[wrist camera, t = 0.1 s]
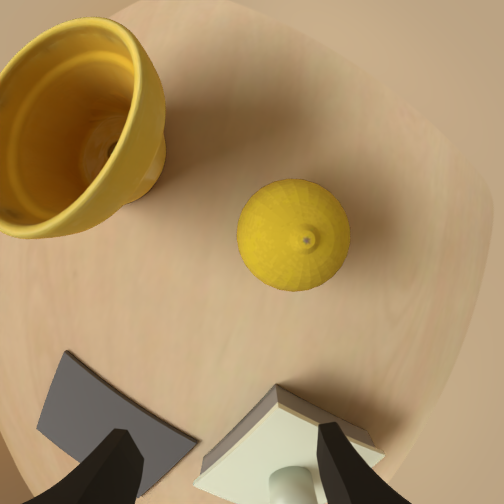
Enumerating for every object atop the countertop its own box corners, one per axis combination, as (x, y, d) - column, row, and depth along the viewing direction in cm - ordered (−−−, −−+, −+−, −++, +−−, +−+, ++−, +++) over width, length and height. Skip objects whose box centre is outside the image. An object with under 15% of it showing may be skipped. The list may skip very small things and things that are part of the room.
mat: (138, 495, 22) (138, 498, 21) (38, 426, 21) (36, 428, 21) (197, 440, 21) (196, 443, 20) (66, 349, 20) (63, 351, 20)
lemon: (223, 243, 19) (203, 260, 11) (271, 171, 19) (286, 137, 11) (294, 291, 19) (322, 336, 11) (342, 220, 19) (399, 221, 11)
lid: (295, 511, 19) (301, 548, 15) (195, 474, 19) (186, 516, 14) (380, 444, 19) (400, 483, 14) (276, 395, 18) (282, 442, 13)
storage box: (293, 493, 22) (296, 514, 19) (203, 457, 21) (198, 480, 18) (367, 431, 21) (378, 452, 18) (275, 384, 20) (278, 407, 17)
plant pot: (104, 74, 18) (35, 11, 8) (221, 115, 18) (197, 31, 8) (45, 196, 19) (-50, 190, 9) (152, 256, 19) (71, 288, 9)
